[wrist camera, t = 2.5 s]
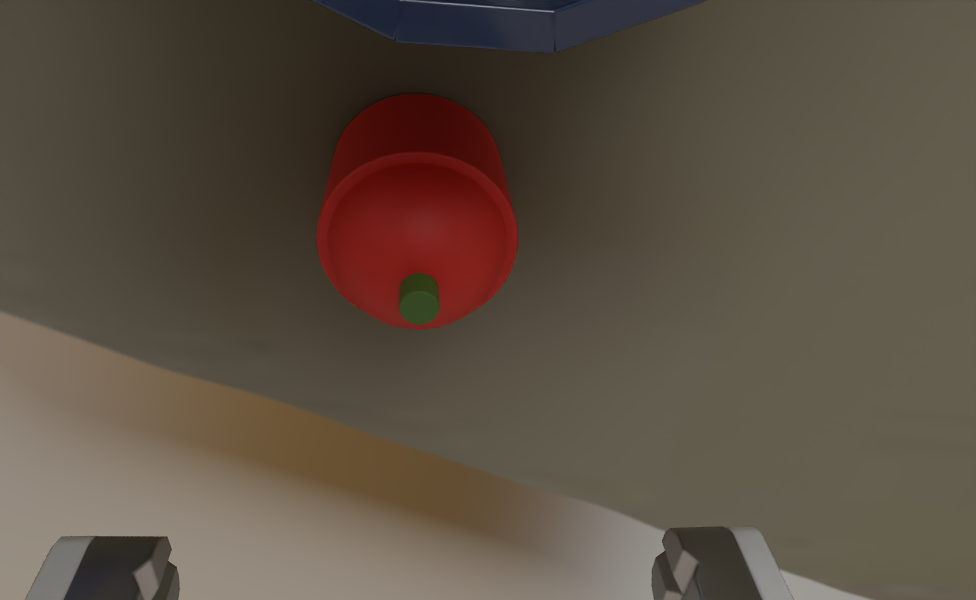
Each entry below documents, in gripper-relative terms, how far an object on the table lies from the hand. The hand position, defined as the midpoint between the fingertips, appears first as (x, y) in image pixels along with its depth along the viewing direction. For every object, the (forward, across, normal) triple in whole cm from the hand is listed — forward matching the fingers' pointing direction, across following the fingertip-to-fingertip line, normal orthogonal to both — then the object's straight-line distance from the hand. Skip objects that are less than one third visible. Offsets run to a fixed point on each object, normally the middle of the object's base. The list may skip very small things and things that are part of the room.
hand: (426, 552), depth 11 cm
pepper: (+14, 0, 0) cm, 14 cm away
